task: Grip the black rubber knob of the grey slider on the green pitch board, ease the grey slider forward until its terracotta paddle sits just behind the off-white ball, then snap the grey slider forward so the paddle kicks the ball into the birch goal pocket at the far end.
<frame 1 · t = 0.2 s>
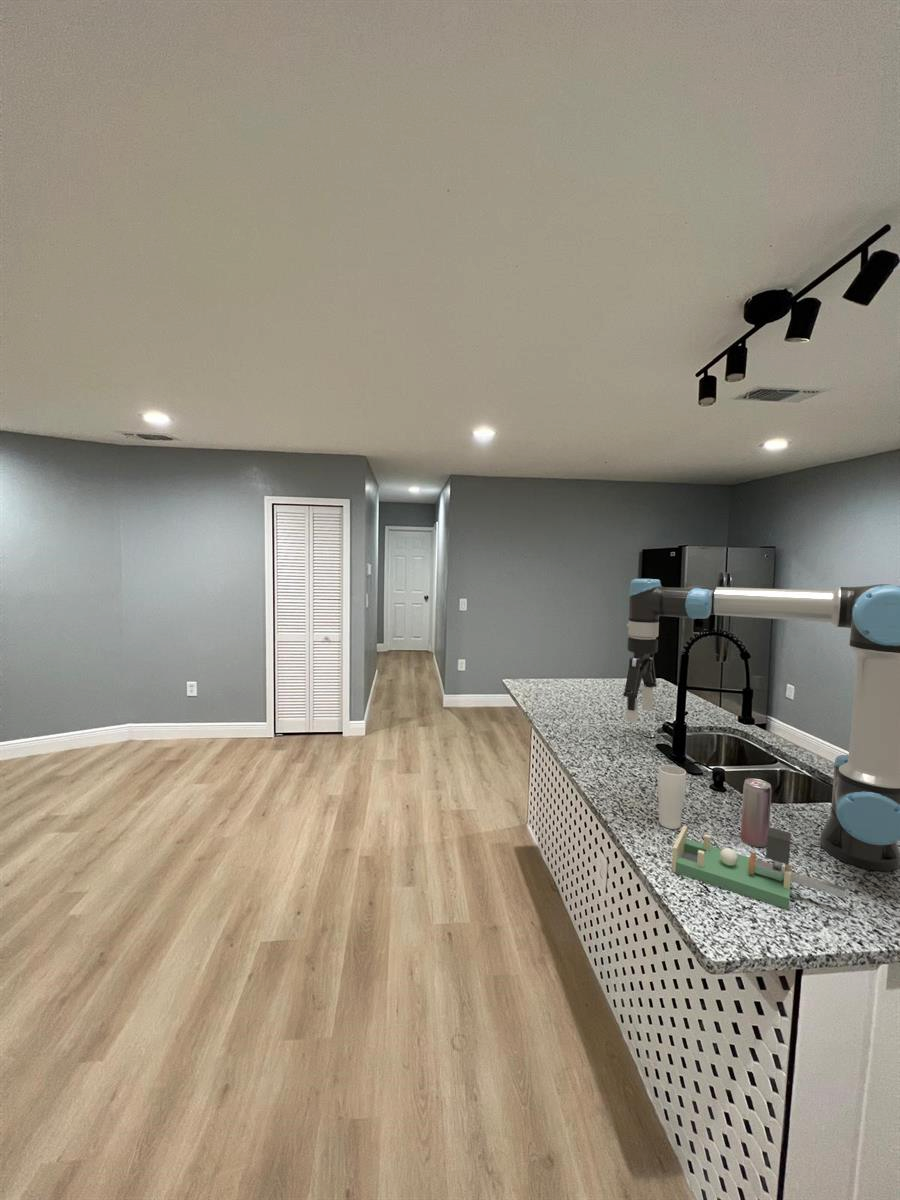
hand: (639, 715, 139), 28 cm above the countertop, fingers open, 13 cm apart
board: (730, 875, 115), on the countertop
beverage can: (754, 842, 129), on the countertop
ball: (728, 856, 115), point 4 cm above the countertop, touching board
grey slider: (796, 860, 108), point 8 cm above the countertop, slide at 0.0 cm
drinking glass: (669, 825, 137), on the countertop
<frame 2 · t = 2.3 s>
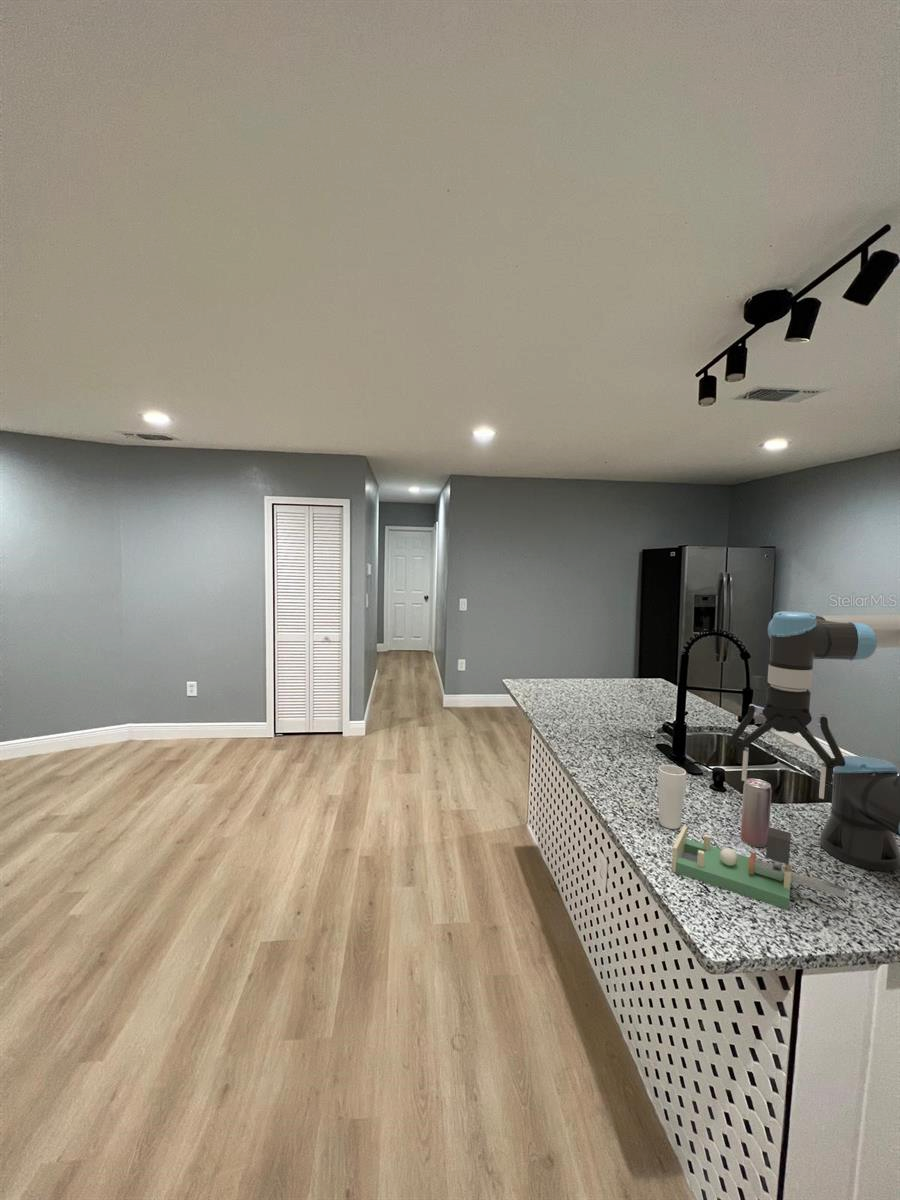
hand: (781, 787, 109), 22 cm above the countertop, fingers open, 13 cm apart
nothing on the countertop moved.
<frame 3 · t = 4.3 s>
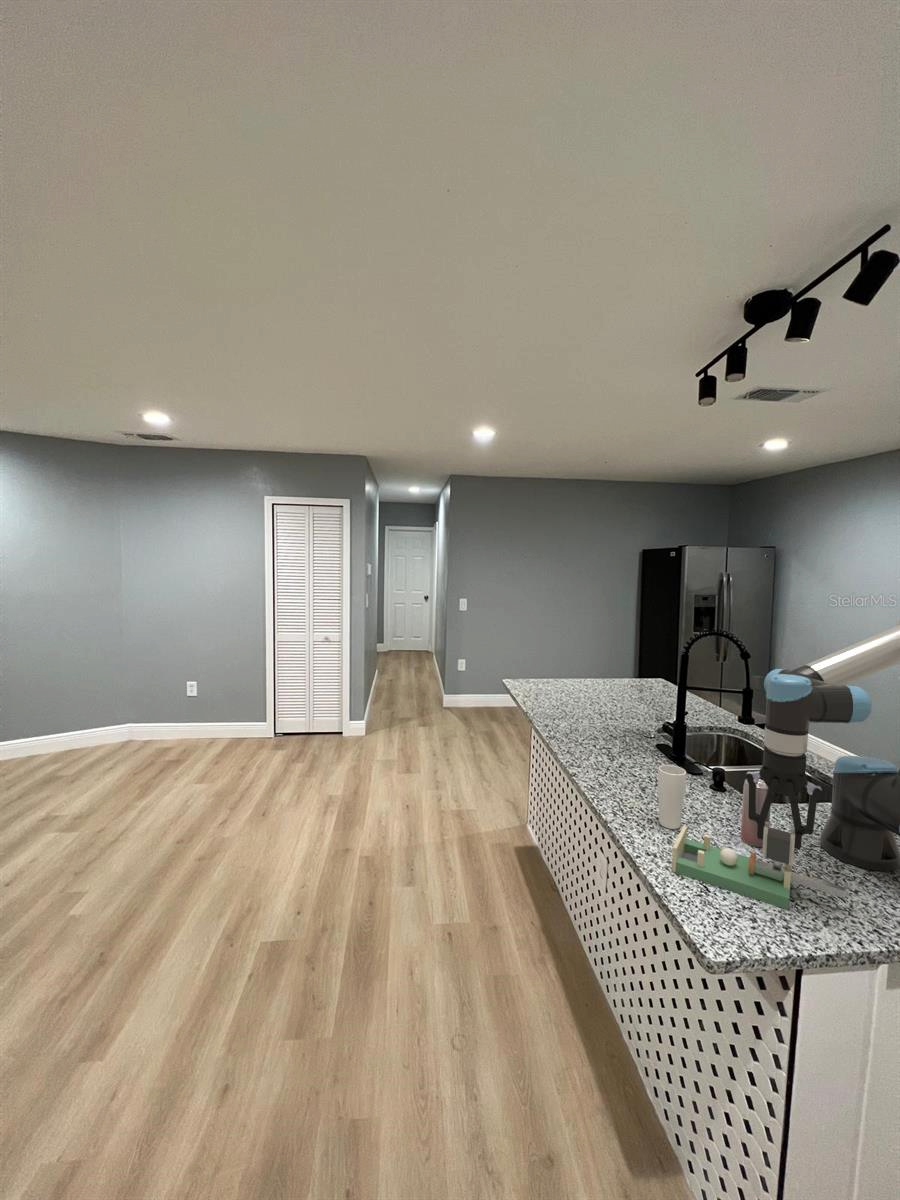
hand: (777, 857, 110), 7 cm above the countertop, fingers closed on grey slider, 4 cm apart
grey slider: (796, 860, 108), point 8 cm above the countertop, slide at 0.0 cm, touching gripper
everything else where it was.
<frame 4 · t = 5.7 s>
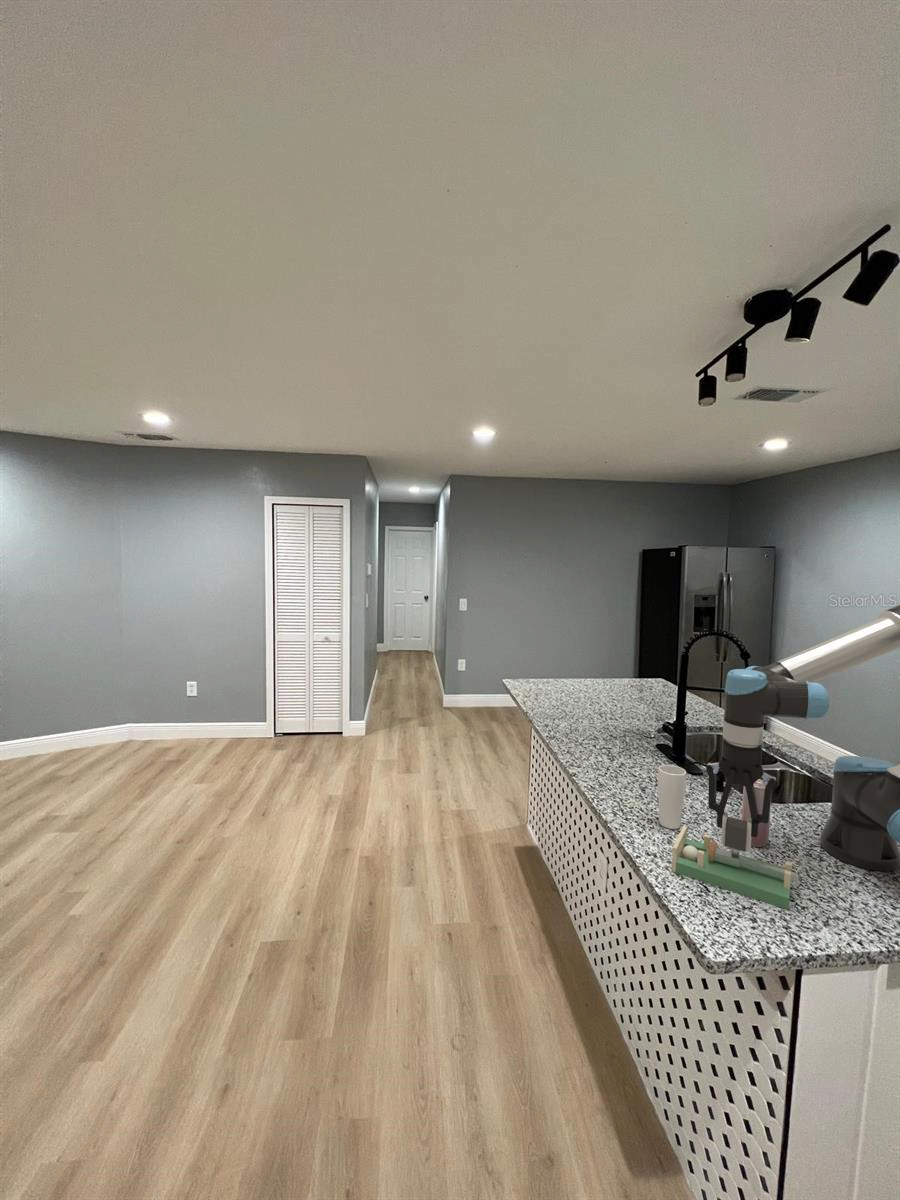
hand: (735, 845, 114), 7 cm above the countertop, fingers closed on grey slider, 4 cm apart
ball: (690, 853, 120), point 2 cm above the countertop, tilted 99°, touching board
grey slider: (753, 848, 112), point 8 cm above the countertop, slide at 7.8 cm, touching gripper
everything else where it was.
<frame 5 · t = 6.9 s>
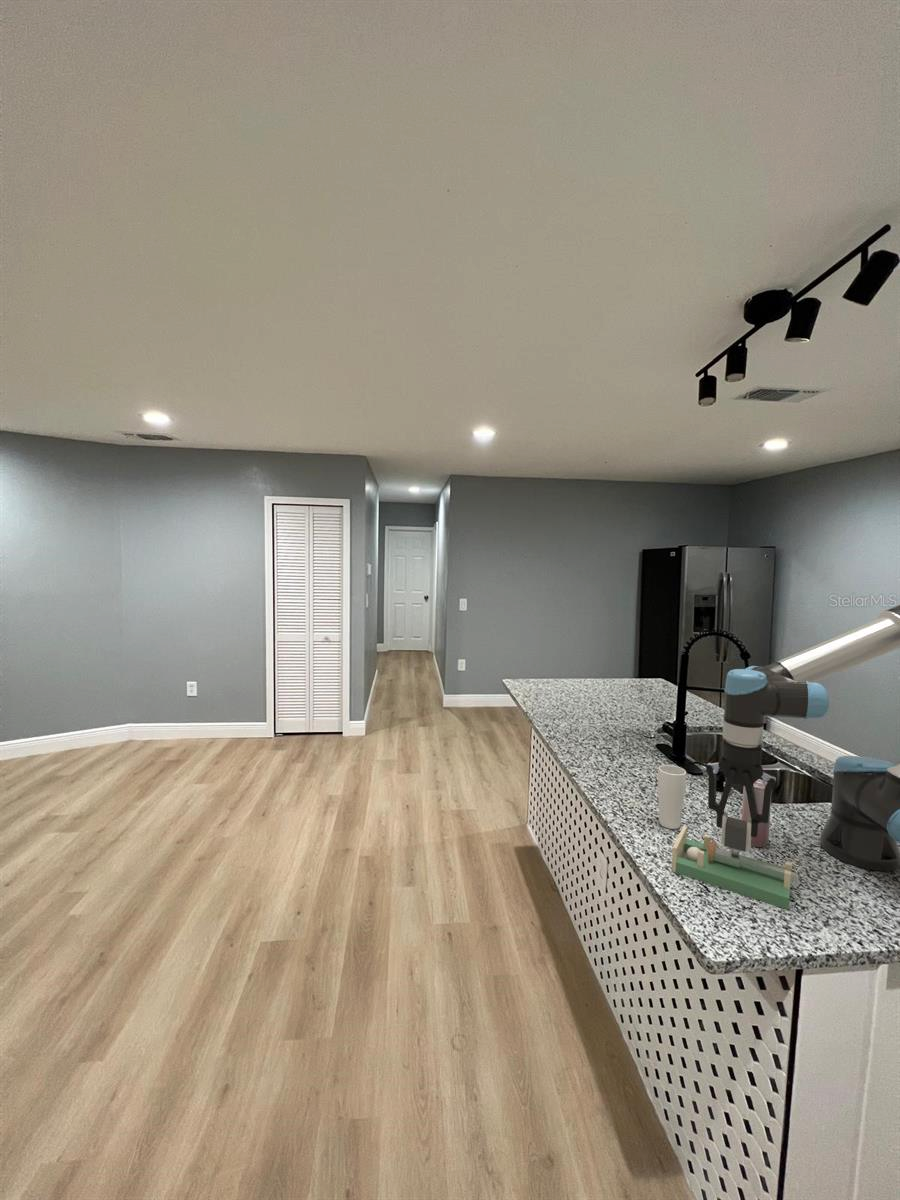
hand: (735, 845, 114), 7 cm above the countertop, fingers closed on grey slider, 4 cm apart
ball: (694, 855, 119), point 2 cm above the countertop, tilted 127°, touching board
grey slider: (753, 848, 112), point 8 cm above the countertop, slide at 7.8 cm, touching gripper
everything else where it was.
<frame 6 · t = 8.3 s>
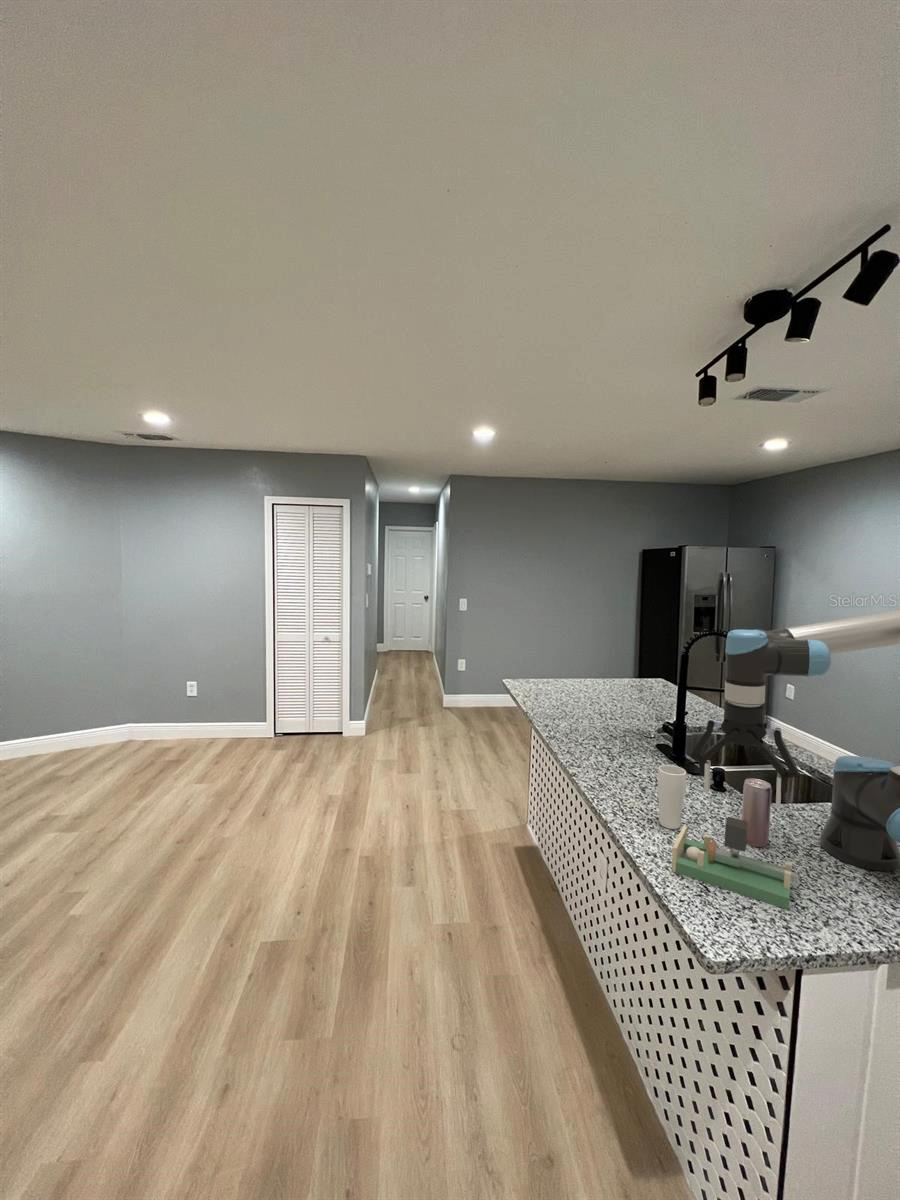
hand: (741, 798, 113), 18 cm above the countertop, fingers open, 13 cm apart
grey slider: (753, 848, 112), point 8 cm above the countertop, slide at 7.8 cm
everything else where it was.
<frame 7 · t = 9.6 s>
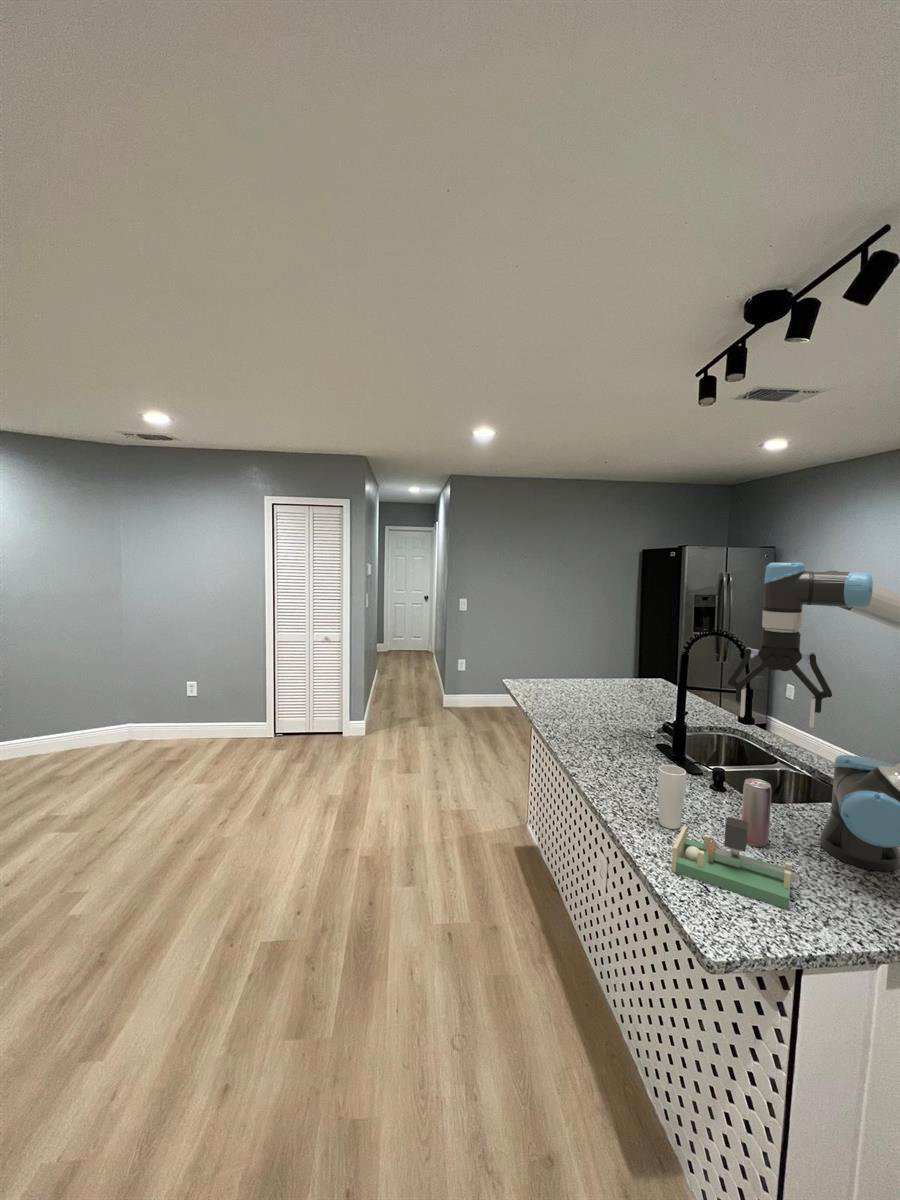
hand: (775, 720, 121), 33 cm above the countertop, fingers open, 13 cm apart
nothing on the countertop moved.
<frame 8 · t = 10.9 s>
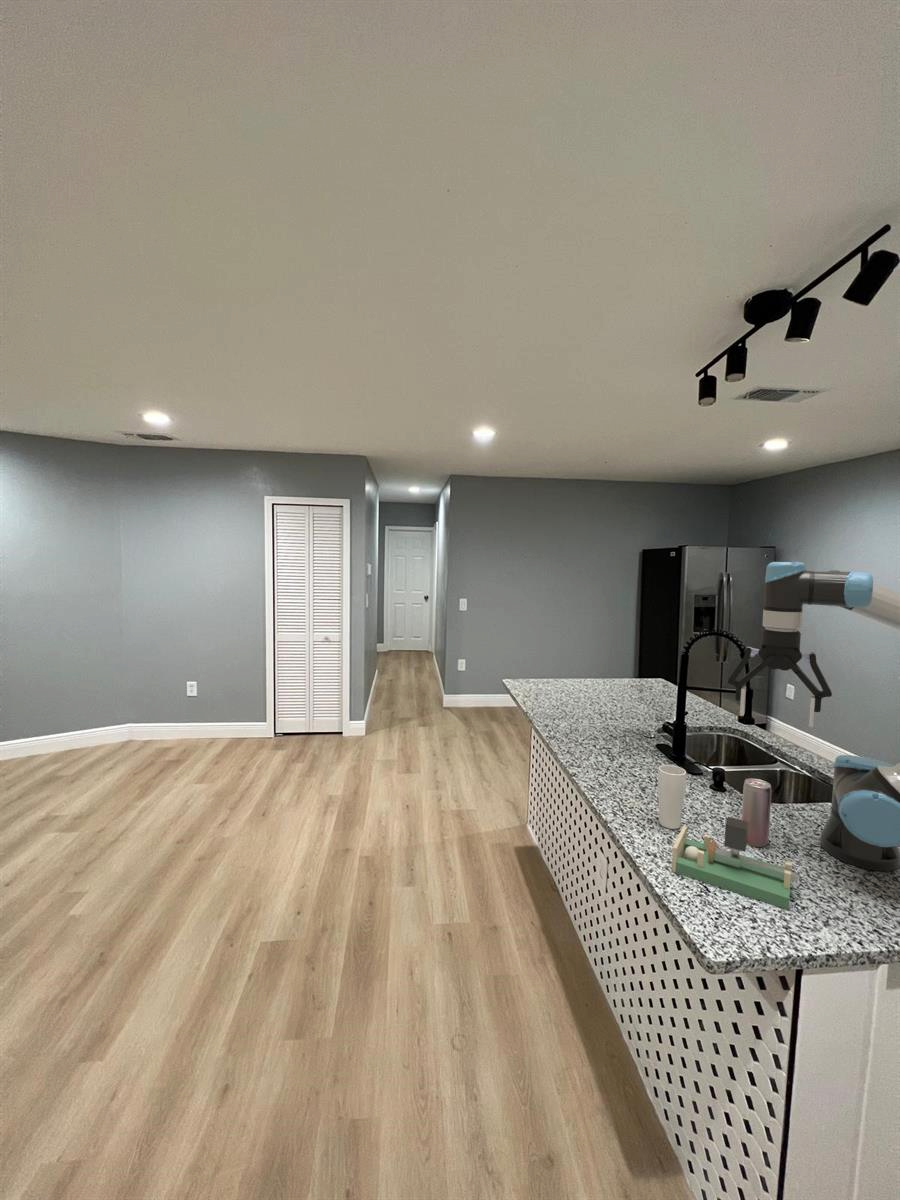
hand: (775, 719, 121), 33 cm above the countertop, fingers open, 13 cm apart
nothing on the countertop moved.
at the end: ball 0.1 cm from the target spot on the board, point 2.1 cm above the board's base; grey slider slide at 7.8 cm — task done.
